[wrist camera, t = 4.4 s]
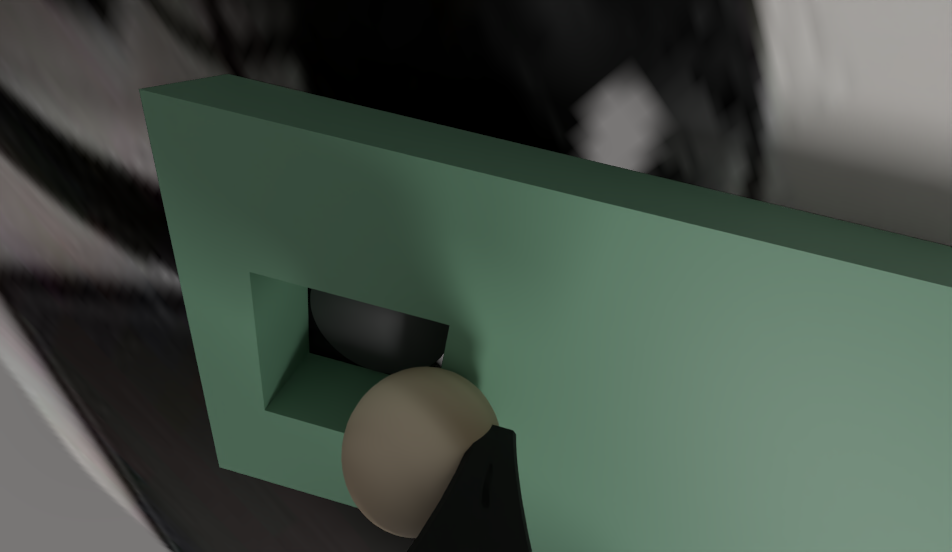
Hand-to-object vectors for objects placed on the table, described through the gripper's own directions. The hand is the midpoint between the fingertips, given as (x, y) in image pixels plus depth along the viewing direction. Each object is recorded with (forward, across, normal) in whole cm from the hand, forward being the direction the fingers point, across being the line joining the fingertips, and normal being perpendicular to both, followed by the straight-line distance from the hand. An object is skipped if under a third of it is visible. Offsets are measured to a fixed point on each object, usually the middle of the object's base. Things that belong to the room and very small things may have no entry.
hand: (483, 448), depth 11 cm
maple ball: (0, +2, 0) cm, 2 cm away
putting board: (+5, -3, +1) cm, 5 cm away
